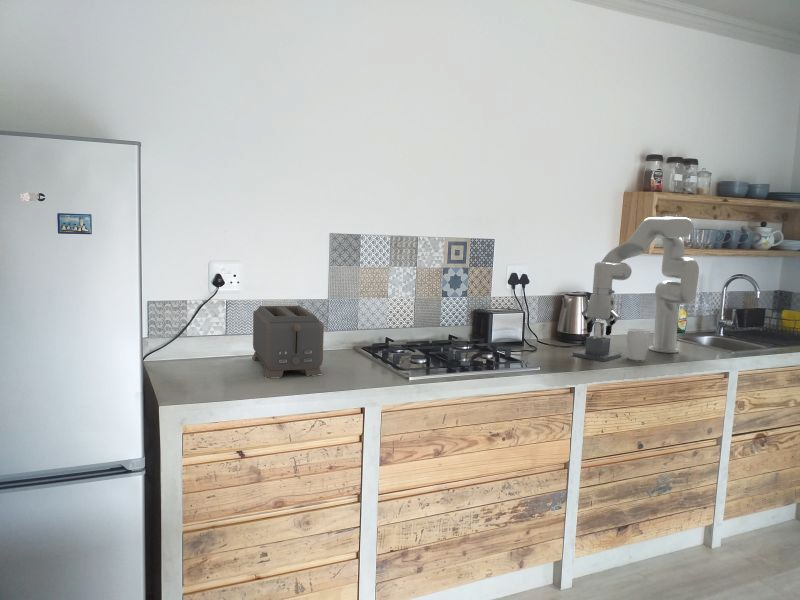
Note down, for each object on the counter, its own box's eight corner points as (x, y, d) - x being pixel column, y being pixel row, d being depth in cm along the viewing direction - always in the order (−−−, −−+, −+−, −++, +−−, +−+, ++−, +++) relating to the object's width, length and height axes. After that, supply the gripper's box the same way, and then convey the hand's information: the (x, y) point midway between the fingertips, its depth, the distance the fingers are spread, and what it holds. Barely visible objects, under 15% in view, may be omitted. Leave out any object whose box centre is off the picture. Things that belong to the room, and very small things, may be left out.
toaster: (267, 381, 213) (268, 319, 210) (251, 358, 245) (252, 305, 242) (325, 378, 220) (326, 318, 217) (302, 356, 252) (303, 304, 249)
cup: (649, 361, 268) (652, 333, 267) (626, 360, 270) (629, 331, 268) (645, 357, 277) (648, 329, 275) (623, 355, 279) (626, 328, 277)
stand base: (590, 351, 286) (592, 331, 285) (621, 356, 276) (622, 335, 275) (572, 355, 274) (574, 334, 273) (603, 361, 265) (605, 340, 264)
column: (594, 351, 278) (597, 321, 276) (604, 352, 275) (606, 322, 273) (589, 352, 275) (592, 322, 273) (599, 354, 272) (602, 323, 270)
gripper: (625, 293, 269) (622, 335, 271) (587, 289, 280) (584, 329, 283) (617, 294, 263) (614, 337, 265) (578, 290, 275) (575, 331, 277)
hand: (598, 333), depth 274 cm, fingers open, 7 cm apart
